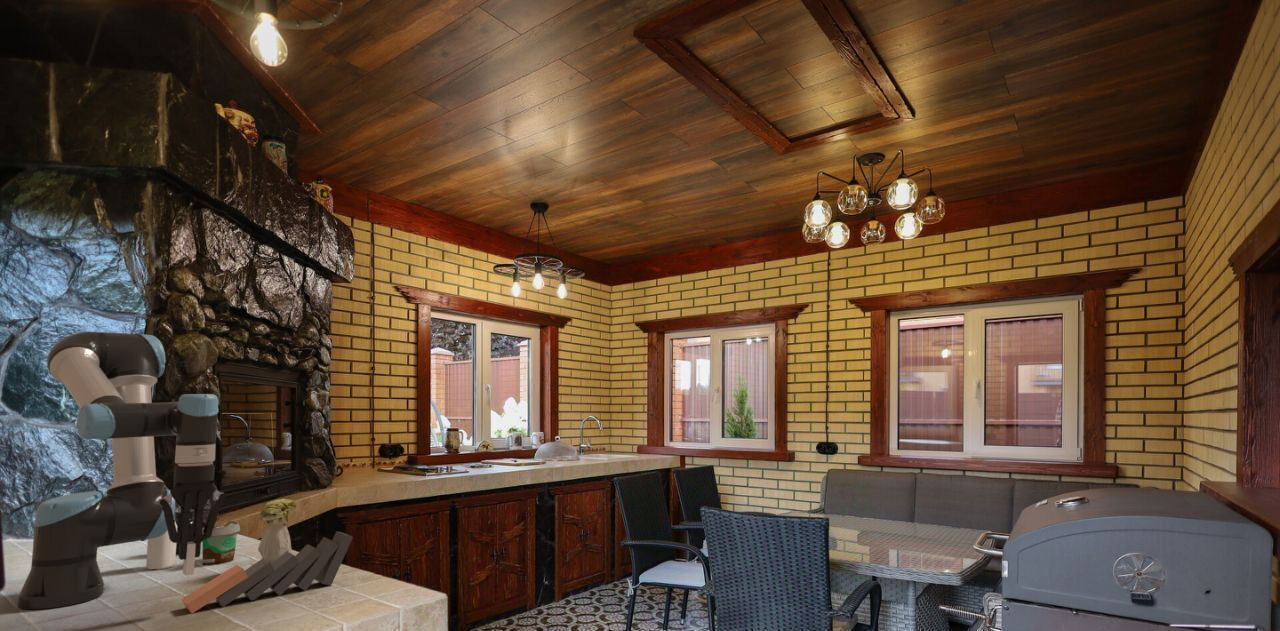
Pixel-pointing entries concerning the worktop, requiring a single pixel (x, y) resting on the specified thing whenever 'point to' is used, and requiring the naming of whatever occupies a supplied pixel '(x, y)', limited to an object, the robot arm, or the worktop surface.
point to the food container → (220, 544)
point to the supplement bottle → (191, 525)
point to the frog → (276, 529)
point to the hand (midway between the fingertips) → (188, 573)
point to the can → (161, 552)
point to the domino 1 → (214, 588)
